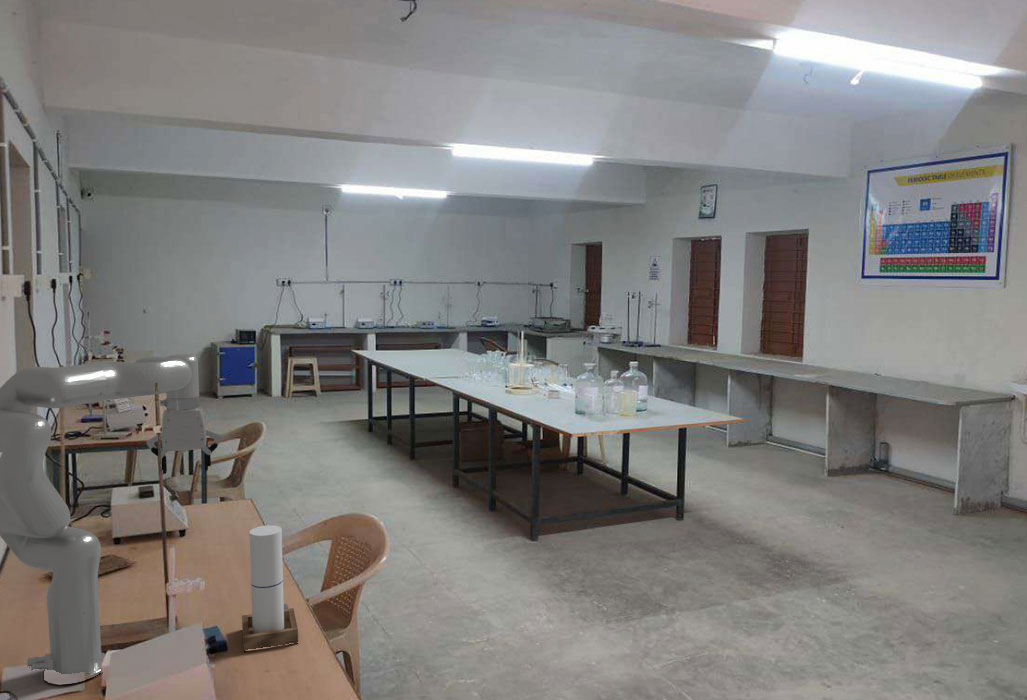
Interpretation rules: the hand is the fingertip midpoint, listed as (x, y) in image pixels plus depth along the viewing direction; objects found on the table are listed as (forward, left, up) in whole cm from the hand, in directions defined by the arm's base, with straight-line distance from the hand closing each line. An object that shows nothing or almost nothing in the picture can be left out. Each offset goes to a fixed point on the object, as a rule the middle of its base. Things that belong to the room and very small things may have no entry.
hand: (185, 471), depth 191 cm
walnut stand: (+18, -22, -36) cm, 46 cm away
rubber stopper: (+21, -13, -36) cm, 44 cm away
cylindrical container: (+18, -22, -36) cm, 45 cm away
